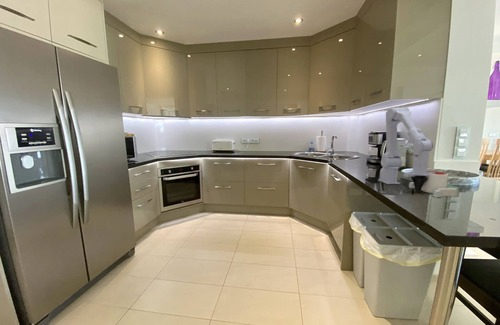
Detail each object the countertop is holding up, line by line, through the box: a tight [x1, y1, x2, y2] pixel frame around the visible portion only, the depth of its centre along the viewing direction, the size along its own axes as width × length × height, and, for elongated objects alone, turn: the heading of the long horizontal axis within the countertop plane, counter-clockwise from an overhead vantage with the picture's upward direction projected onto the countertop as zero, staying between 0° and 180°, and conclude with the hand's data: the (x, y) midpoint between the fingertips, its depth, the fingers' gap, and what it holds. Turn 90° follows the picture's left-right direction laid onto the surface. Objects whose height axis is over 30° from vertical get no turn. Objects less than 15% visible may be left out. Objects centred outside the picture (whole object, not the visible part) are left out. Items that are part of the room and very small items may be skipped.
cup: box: [421, 170, 449, 194], centre depth 111 cm, size 10×10×10 cm
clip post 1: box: [408, 181, 415, 189], centre depth 119 cm, size 2×2×3 cm
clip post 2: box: [432, 190, 443, 198], centre depth 103 cm, size 2×2×3 cm
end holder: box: [436, 183, 461, 197], centre depth 111 cm, size 14×10×4 cm
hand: (417, 190), depth 111 cm, fingers closed
